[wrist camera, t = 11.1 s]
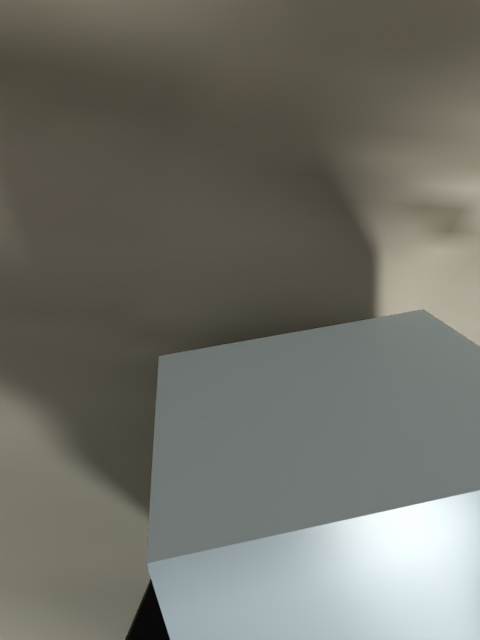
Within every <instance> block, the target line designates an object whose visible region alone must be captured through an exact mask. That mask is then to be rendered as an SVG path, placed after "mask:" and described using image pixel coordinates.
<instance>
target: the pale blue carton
mask: <svg viewBox="0 0 480 640" xmlns="http://www.w3.org/2000/svg"><path fill="white" fill-rule="evenodd" d="M146 564H147V568H148V571H149V574H150V577H151V580H152V584H153V587H154V590H155V593H156V596H157V599H158V603H159V606H160V609H161V612H162V615H163V618H164V622H165V625H166V628H167V631H168V634H169V638H170V640H480V347H479V346H478V345H476V344H475V343H473V342H472V341H470V340H469V339H467V338H466V337H464V336H463V335H461V334H460V333H458V332H457V331H455V330H454V329H452V328H451V327H449V326H448V325H446V324H445V323H443V322H442V321H440V320H439V319H437V318H436V317H434V316H433V315H431V314H430V313H428V312H427V311H425V310H424V309H423V310H418V311H412V312H406V313H400V314H395V315H389V316H383V317H378V318H372V319H366V320H361V321H355V322H349V323H344V324H338V325H332V326H327V327H321V328H315V329H309V330H304V331H298V332H292V333H287V334H281V335H275V336H270V337H264V338H258V339H253V340H247V341H241V342H236V343H230V344H224V345H218V346H213V347H207V348H201V349H196V350H190V351H184V352H179V353H173V354H167V355H162V356H159V361H158V377H157V394H156V410H155V427H154V443H153V460H152V477H151V493H150V510H149V526H148V543H147V559H146Z"/></svg>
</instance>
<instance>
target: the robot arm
mask: <svg viewBox="0 0 480 640" xmlns="http://www.w3.org/2000/svg"><path fill="white" fill-rule="evenodd" d="M125 640H170V638H169V634H168V631H167V628H166V625H165V622H164V618H163V615H162V612H161V609H160V606H159V603H158V599H157V596H156V593H155V590H154V587H153V584H152V580H151V579H150V582H149V584H148V586H147V589H146V591H145V594H144V596H143V598H142V601H141V603H140V605H139V608H138V610H137V613H136V615H135V617H134V620H133V622H132V624H131V627H130V629H129V632H128V634H127V636H126V639H125Z"/></svg>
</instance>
